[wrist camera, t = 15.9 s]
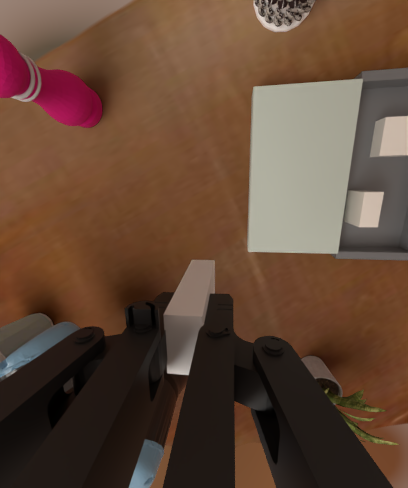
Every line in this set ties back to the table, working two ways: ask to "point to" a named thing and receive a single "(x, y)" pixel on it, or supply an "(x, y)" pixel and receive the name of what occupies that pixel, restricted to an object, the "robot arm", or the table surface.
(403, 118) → the tile
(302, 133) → the board
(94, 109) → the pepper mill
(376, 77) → the tray
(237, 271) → the table surface
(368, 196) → the tile
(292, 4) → the black and white jar
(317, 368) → the house plant
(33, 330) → the disposable coffee cup
